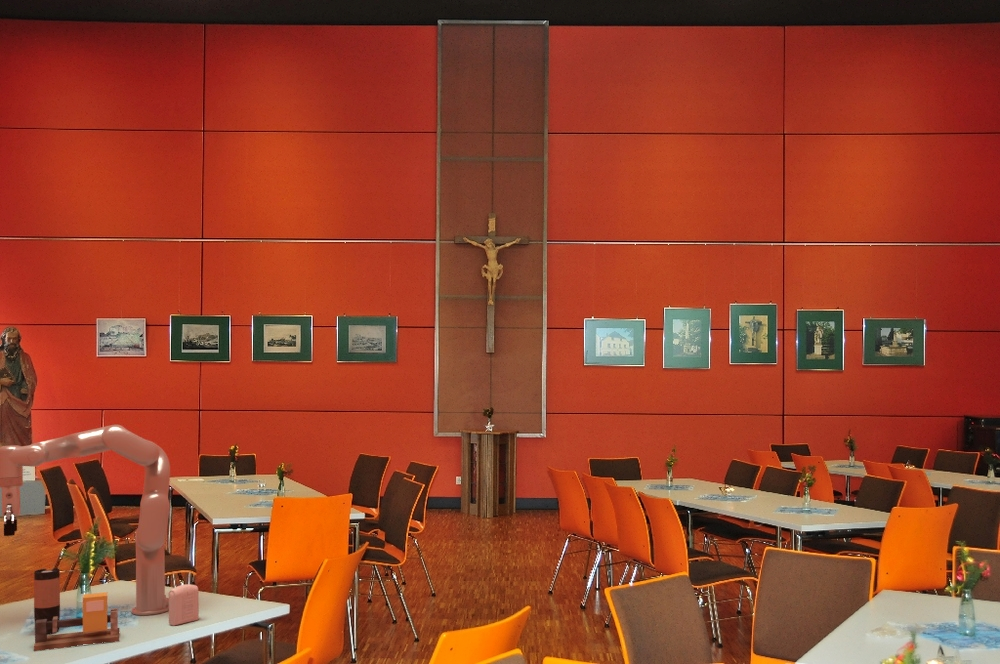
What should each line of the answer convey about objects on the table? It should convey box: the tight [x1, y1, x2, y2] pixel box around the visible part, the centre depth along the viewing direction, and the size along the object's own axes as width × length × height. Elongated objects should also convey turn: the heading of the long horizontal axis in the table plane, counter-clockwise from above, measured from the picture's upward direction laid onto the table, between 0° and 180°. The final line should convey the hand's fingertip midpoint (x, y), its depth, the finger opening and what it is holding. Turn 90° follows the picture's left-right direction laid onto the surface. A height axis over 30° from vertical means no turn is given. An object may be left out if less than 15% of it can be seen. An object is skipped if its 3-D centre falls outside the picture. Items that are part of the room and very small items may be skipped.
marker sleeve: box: [82, 591, 109, 633], centre depth 303 cm, size 7×6×11 cm
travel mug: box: [33, 567, 61, 635], centre depth 313 cm, size 8×8×20 cm
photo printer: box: [168, 583, 200, 626], centre depth 322 cm, size 10×4×12 cm, turn 144°
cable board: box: [33, 607, 120, 652], centre depth 301 cm, size 24×12×8 cm, turn 111°
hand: (10, 533), depth 323 cm, fingers open, 9 cm apart
